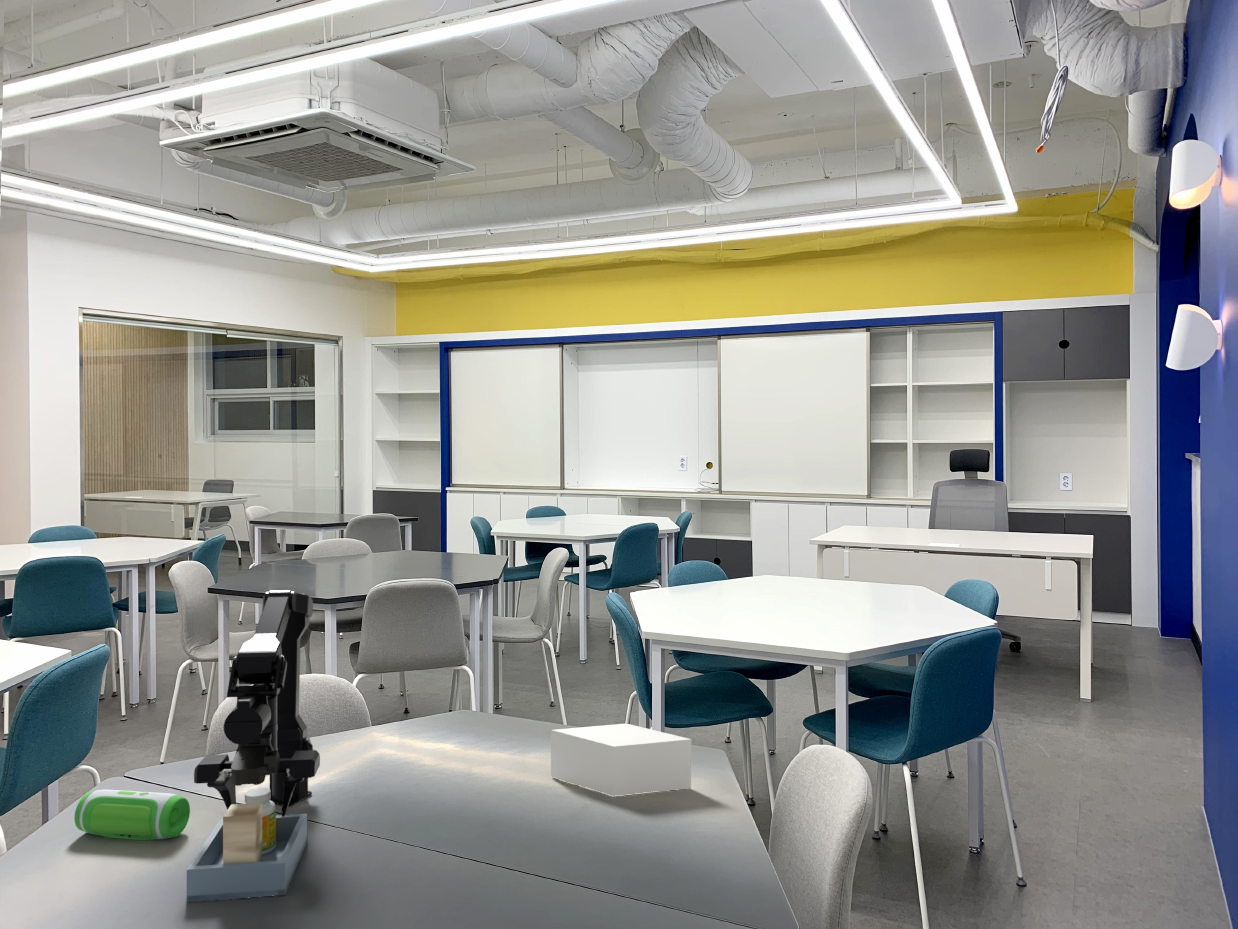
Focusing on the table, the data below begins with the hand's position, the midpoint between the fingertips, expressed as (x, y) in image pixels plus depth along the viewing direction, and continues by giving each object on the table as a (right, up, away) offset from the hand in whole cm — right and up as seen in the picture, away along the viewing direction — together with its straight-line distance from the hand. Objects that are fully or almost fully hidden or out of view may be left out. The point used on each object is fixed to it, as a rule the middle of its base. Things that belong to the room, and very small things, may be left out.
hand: (258, 817), depth 145 cm
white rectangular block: (+60, -7, +33) cm, 69 cm away
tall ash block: (+2, -6, -10) cm, 12 cm away
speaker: (-25, -7, +8) cm, 27 cm away
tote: (+1, -7, -5) cm, 8 cm away
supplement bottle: (0, -6, 0) cm, 6 cm away
